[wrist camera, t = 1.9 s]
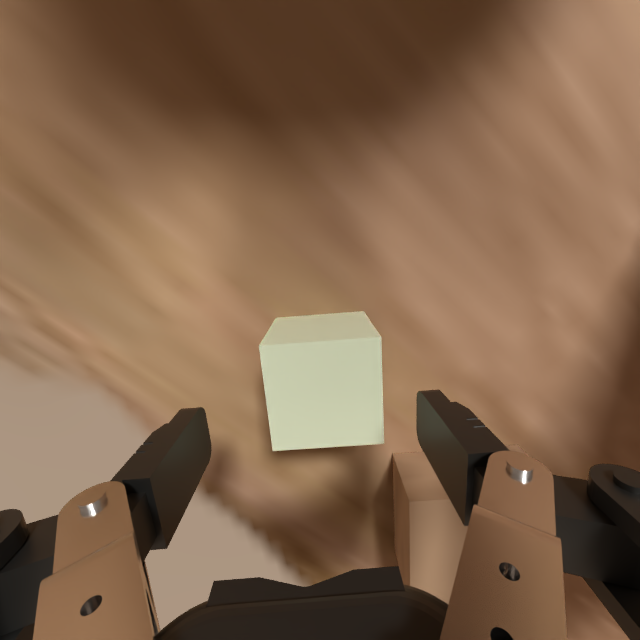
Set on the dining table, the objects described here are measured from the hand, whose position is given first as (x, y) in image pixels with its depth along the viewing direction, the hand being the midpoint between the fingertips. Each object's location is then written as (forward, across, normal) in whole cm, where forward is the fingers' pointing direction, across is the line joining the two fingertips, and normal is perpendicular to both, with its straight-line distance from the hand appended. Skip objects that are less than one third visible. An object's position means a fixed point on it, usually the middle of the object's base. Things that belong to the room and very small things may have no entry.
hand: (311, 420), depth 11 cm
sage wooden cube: (+7, -1, 0) cm, 7 cm away
